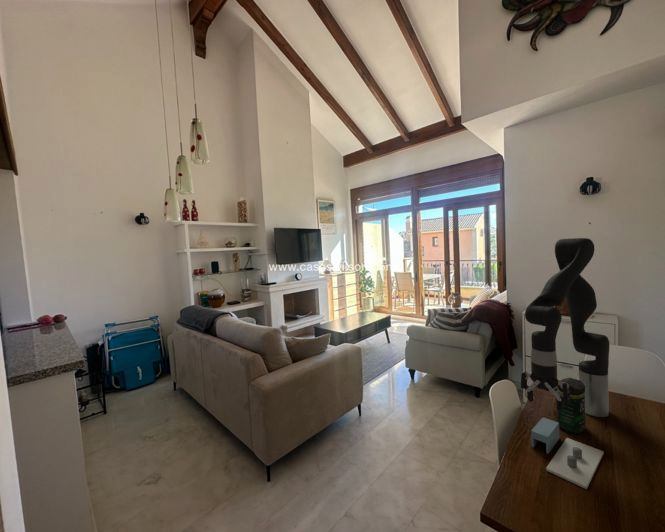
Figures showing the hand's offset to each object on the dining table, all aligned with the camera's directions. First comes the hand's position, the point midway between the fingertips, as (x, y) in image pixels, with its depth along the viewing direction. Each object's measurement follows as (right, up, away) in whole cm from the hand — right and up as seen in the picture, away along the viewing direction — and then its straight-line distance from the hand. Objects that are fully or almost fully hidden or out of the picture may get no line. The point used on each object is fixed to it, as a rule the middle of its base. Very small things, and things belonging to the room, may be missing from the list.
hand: (544, 405), depth 106 cm
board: (+4, -14, -9) cm, 17 cm away
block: (+1, -14, +1) cm, 14 cm away
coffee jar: (+17, -13, +8) cm, 22 cm away
